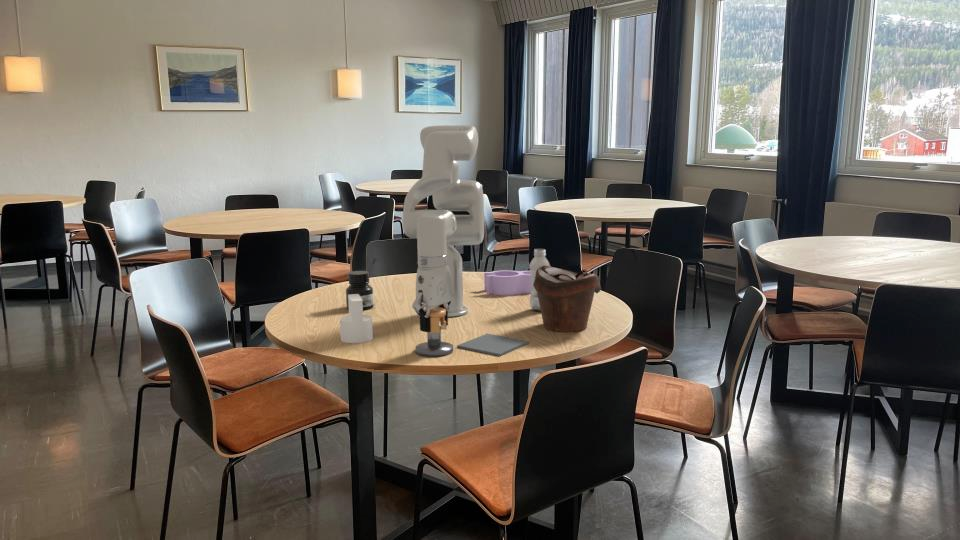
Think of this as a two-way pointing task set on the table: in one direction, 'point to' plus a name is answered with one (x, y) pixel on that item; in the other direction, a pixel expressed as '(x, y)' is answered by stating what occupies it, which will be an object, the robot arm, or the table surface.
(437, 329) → the orange ellipsoid with prongs
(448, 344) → the grey post on disc
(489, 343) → the mat
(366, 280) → the ink bottle
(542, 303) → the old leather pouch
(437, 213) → the robot arm
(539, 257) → the plastic bottle
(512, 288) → the clip
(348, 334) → the cylinder with rectangular tab
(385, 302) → the table surface
